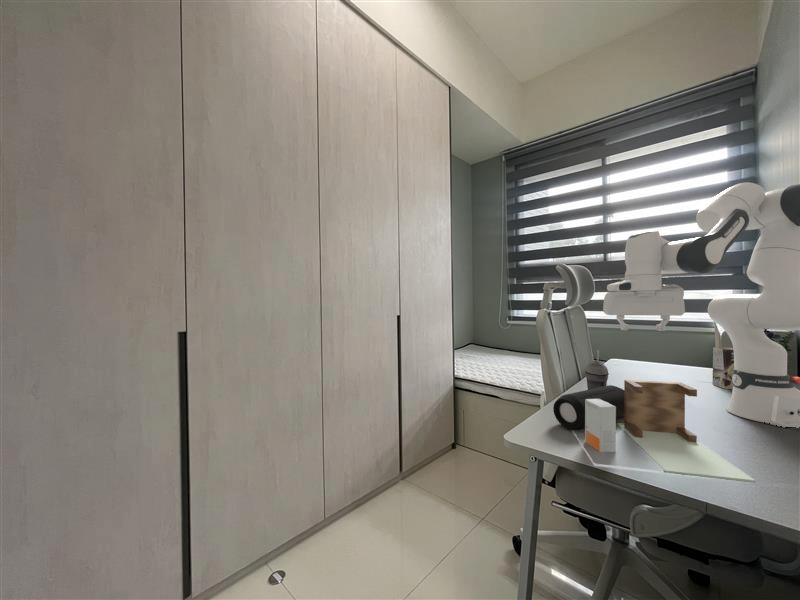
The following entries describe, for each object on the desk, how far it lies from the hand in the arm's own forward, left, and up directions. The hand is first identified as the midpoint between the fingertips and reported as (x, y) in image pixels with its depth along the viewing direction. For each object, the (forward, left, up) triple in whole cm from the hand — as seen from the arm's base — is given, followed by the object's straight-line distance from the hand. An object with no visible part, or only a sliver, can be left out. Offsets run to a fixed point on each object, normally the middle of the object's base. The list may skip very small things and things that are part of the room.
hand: (642, 330), depth 95 cm
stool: (0, +9, -28) cm, 29 cm away
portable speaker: (+14, +2, -29) cm, 32 cm away
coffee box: (-52, -48, -29) cm, 76 cm away
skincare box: (+18, +20, -29) cm, 39 cm away
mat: (0, +16, -29) cm, 33 cm away
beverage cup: (+8, -14, -29) cm, 33 cm away
